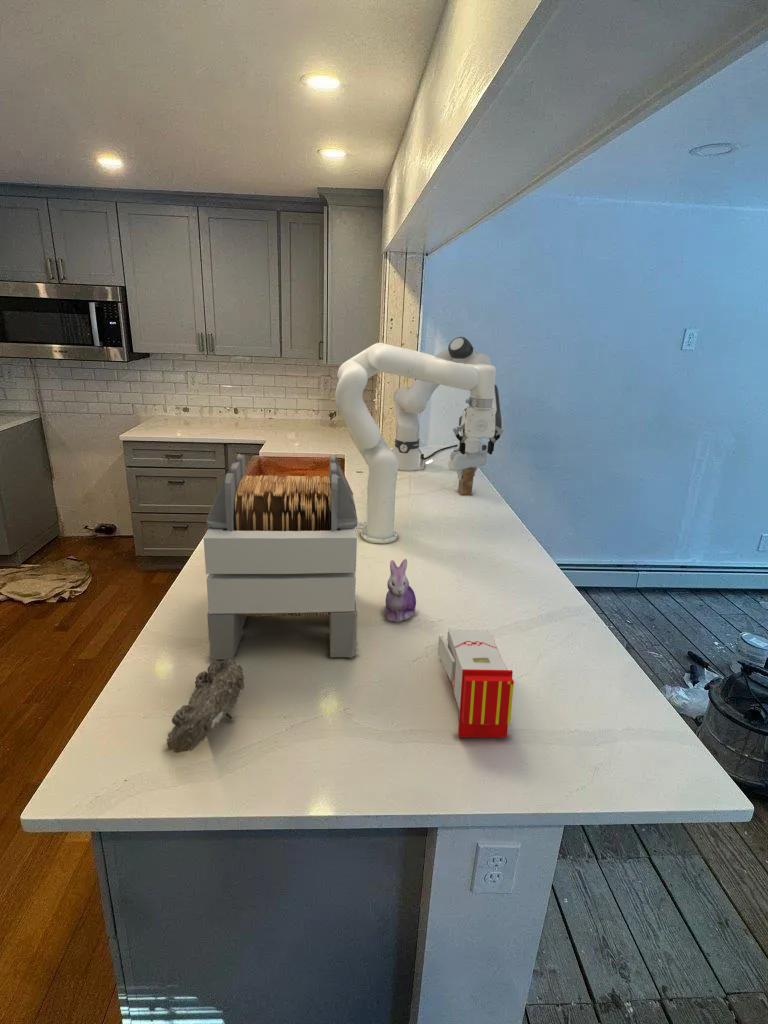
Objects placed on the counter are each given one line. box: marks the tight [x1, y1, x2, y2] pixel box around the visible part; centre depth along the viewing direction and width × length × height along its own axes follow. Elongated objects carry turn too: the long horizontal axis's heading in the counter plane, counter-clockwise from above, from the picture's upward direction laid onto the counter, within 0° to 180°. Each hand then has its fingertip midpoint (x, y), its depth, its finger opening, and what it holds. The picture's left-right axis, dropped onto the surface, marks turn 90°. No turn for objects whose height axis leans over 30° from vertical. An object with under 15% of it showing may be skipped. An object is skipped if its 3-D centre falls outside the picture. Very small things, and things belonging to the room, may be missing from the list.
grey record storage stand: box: [203, 453, 359, 661], centre depth 135 cm, size 34×33×41 cm
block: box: [457, 468, 475, 496], centre depth 246 cm, size 4×6×12 cm
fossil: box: [166, 659, 245, 754], centre depth 106 cm, size 22×10×15 cm
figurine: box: [384, 558, 417, 623], centre depth 145 cm, size 9×10×15 cm
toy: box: [437, 628, 515, 738], centre depth 117 cm, size 12×13×30 cm
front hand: (476, 453), depth 193 cm, fingers open, 9 cm apart
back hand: (466, 477), depth 246 cm, fingers closed on block, 6 cm apart
